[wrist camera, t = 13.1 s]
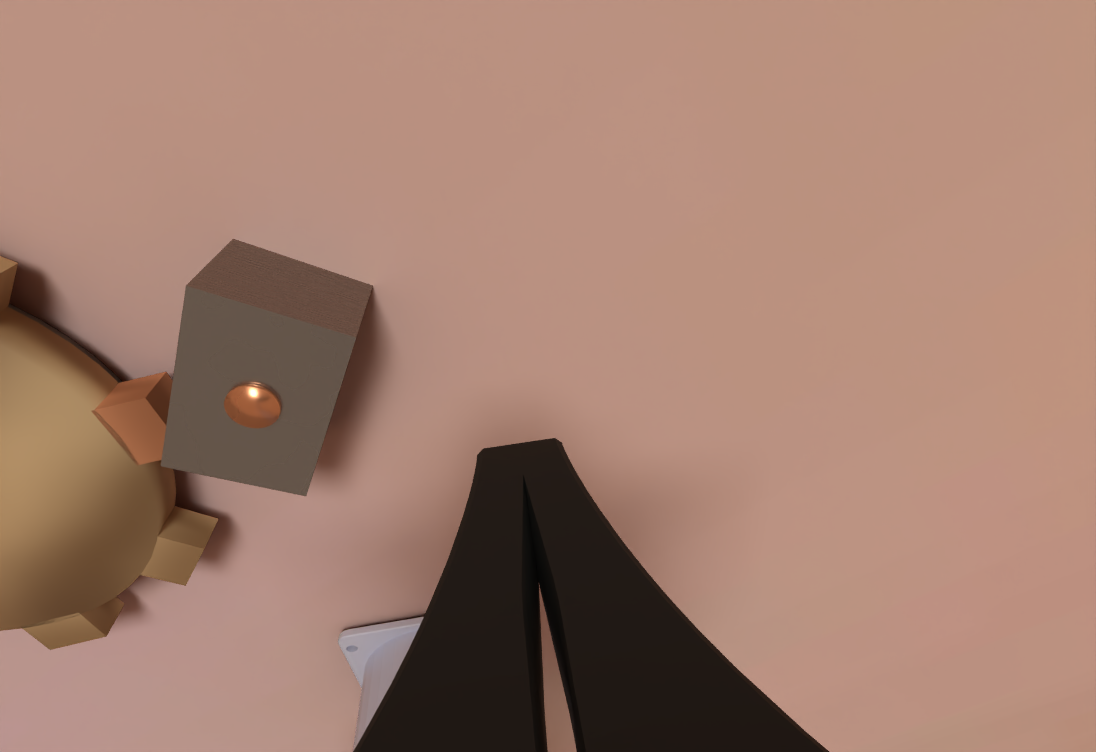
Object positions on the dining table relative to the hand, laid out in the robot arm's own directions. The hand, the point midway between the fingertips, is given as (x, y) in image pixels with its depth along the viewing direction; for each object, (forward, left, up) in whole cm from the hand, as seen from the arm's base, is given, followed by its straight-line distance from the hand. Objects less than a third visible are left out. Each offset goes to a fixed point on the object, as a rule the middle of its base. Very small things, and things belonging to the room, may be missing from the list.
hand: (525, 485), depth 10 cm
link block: (-2, +7, -10) cm, 12 cm away
